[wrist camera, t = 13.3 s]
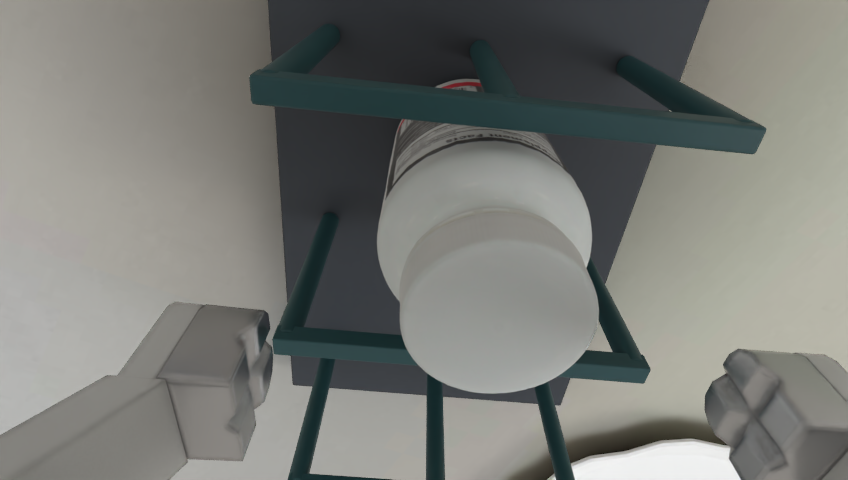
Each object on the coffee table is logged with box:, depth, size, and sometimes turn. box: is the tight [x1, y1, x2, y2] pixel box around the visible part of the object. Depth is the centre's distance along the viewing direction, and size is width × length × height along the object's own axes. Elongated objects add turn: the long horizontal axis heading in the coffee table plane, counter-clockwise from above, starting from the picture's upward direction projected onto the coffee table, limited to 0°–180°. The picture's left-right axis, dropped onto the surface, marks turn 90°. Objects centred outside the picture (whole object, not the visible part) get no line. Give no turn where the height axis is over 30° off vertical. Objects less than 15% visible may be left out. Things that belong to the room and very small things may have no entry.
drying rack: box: [249, 0, 766, 480], centre depth 17 cm, size 20×14×8 cm
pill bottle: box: [377, 79, 599, 394], centre depth 14 cm, size 5×5×10 cm
